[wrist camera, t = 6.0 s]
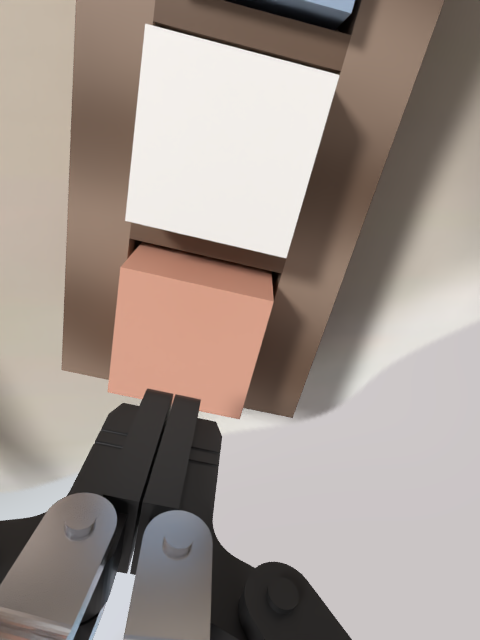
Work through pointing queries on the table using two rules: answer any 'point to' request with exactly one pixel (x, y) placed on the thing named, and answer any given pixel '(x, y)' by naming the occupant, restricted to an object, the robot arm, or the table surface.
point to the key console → (321, 194)
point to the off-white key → (224, 141)
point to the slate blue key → (305, 10)
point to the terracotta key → (188, 327)
